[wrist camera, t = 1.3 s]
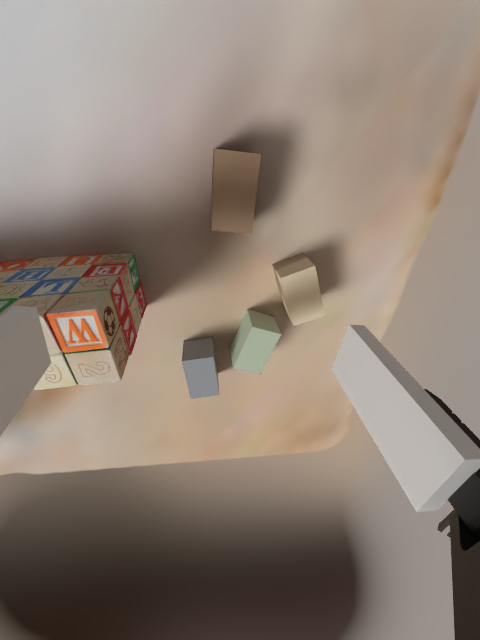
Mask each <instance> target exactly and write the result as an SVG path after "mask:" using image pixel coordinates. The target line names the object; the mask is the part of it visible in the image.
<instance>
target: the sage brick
mask: <svg viewBox="0 0 480 640" xmlns="http://www.w3.org/2000/svg"><path fill="white" fill-rule="evenodd" d="M281 335H282V334H281V332H280V330H279V328H278V325H277V323H276V321H275V319H274V317H273V316H270V315H266V314H263V313H259V312H256V311H252V310H248V309H247V311H246V313H245V315H244V317H243V320H242V322H241V324H240V327H239V329H238V331H237V333H236V336H235V338H234V340H233V342H232V345H231V347H230V352H231V359H232V366H233V369H237V370H242V371H247V372H251V373H256V374H261V372H262V370H263V368H264V366H265V365H266V363H267V361H268V359H269V357H270V355H271V353H272V351H273V350H274V348H275V346H276V344H277V342H278V340H279V338H280V336H281Z"/></svg>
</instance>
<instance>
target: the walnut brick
mask: <svg viewBox="0 0 480 640" xmlns="http://www.w3.org/2000/svg"><path fill="white" fill-rule="evenodd" d="M260 162H261V154H256V153H248V152H239V151H231V150H223V149H214V151H213V173H212V196H211V219H210V222H211V228H212V231H223V232H237V233H250V234H252V229H253V220H254V212H255V204H256V195H257V187H258V179H259V171H260Z"/></svg>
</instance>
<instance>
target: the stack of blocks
mask: <svg viewBox="0 0 480 640" xmlns="http://www.w3.org/2000/svg"><path fill="white" fill-rule="evenodd" d="M13 306H26V307H37V311H38V315H39V319H40V322H41V326H42V330H43V333H44V337H45V341H46V345H47V348H48V352H49V356H50V359H51V364H50V366H49V367H48V368H47V370H46V371H45V373H44V374H43V376H42V377H41V379H40V380H39V381H38V383H37V384H36V386H35V387H34V390H42V389H49V388H59V387H67V386H75V385H78V384H79V385H91V384H100V383H110V382H118V381H120V380H121V379H122V376H123V373H124V370H125V367H126V364H127V360H128V357H129V356H130V355H131V354H132V351H133V347H134V344H135V342H136V338H137V333H138V329H139V326H140V323H141V319H142V318H143V315H144V312H145V309H146V302H145V298H144V293H143V289H142V285H141V282H140V279H139V274H138V270H137V266H136V261H135V257H134V253H124V254H107V255H102V254H94V255H78V256H59V257H45V258H38V259H31V260H18V261H6V262H0V317H1V316H2V315H3V314H5V313H6V312H7V311H8V310H9V309H11V308H12V307H13Z"/></svg>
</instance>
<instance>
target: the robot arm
mask: <svg viewBox="0 0 480 640" xmlns="http://www.w3.org/2000/svg"><path fill="white" fill-rule="evenodd" d="M50 364H51V359H50V356H49V352H48V348H47V345H46V341H45V337H44V333H43V330H42V326H41V322H40V319H39V315H38V311H37V307H26V306H13V307H12V308H11V309H9V310H8V311H7V312H6V313H5V314H3V315H2V316H1V317H0V436H1V435H2V433H3V432H4V430H5V429H6V427H7V426H8V424H9V423H10V422H11V420H12V419H13V417H14V416H15V414H16V413H17V412H18V410H19V409H20V407H21V406H22V404H23V403H24V401H25V400H26V399H27V397H28V396H29V394H30V393H31V391H32V390H33V389H34V387H35V386H36V384H37V383H38V381H39V380H40V379H41V377H42V376H43V374H44V373H45V371H46V370H47V368H48V367H49V366H50ZM331 370H332V371H333V373H334V375H335V376H336V378H337V380H338V381H339V383H340V385H341V386H342V388H343V390H344V391H345V393H346V395H347V396H348V398H349V400H350V401H351V403H352V405H353V406H354V408H355V410H356V412H357V413H358V415H359V416H360V418H361V420H362V422H363V423H364V425H365V427H366V428H367V430H368V431H369V433H370V435H371V437H372V438H373V440H374V441H375V443H376V445H377V447H378V448H379V450H380V452H381V453H382V455H383V456H384V458H385V460H386V461H387V463H388V465H389V467H390V468H391V470H392V472H393V473H394V475H395V477H396V478H397V480H398V482H399V483H400V485H401V487H402V488H403V490H404V492H405V493H406V494H407V497H408V498H409V500H410V502H411V503H412V505H413V507H414V508H415V510H416V511H417V512H422V511H434V510H438V509H439V508H440V507H441V506H442V505H443V504H444V503H445V502H446V501H447V500H448V501H449V502H450V503H451V505H452V506H453V508H454V510H453V511H452V512H451V513H450V514H449V515H448V516H447V517H446V518H445V519H444V520H443V521H442V522H440V523H439V526H438V530H439V531H441V532H442V531H443V530H444V529H445V528H446V527H447V526H449V525H450V532H449V533H448V534H447V536H449V537H450V538H451V556H452V581H453V605H454V629H455V640H480V440H479V439H478V438H477V437H476V436H475V435H474V433H473V432H472V431H471V430H470V429H469V428H468V427H467V426H466V425H465V424H463V423H461V420H460V419H459V418H458V417H457V416H456V415H455V414H454V413H452V411H451V410H450V409H449V408H448V406H447V405H446V404H445V403H443V401H442V400H441V399H439V398H438V397H437V396H435V395H434V394H432V393H431V392H429V391H428V390H427V389H423V388H422V387H421V386H420V385H419V383H418V382H417V381H416V380H415V379H414V378H413V377H412V376H411V375H410V374H409V373H408V372H407V371H406V370H405V368H403V366H402V365H401V364H400V363H399V362H398V361H397V360H396V359H395V358H394V357H393V356H392V355H391V354H390V353H389V351H388V350H387V349H386V348H385V347H384V346H383V345H382V344H381V343H380V342H379V341H378V340H377V339H376V338H375V336H374V335H373V334H372V333H371V332H370V331H369V330H368V329H367V328H366V327H365V326H363V325H349V327H348V330H347V332H346V335H345V337H344V340H343V342H342V345H341V347H340V349H339V352H338V354H337V357H336V359H335V362H334V364H333V367H332V369H331Z"/></svg>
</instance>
